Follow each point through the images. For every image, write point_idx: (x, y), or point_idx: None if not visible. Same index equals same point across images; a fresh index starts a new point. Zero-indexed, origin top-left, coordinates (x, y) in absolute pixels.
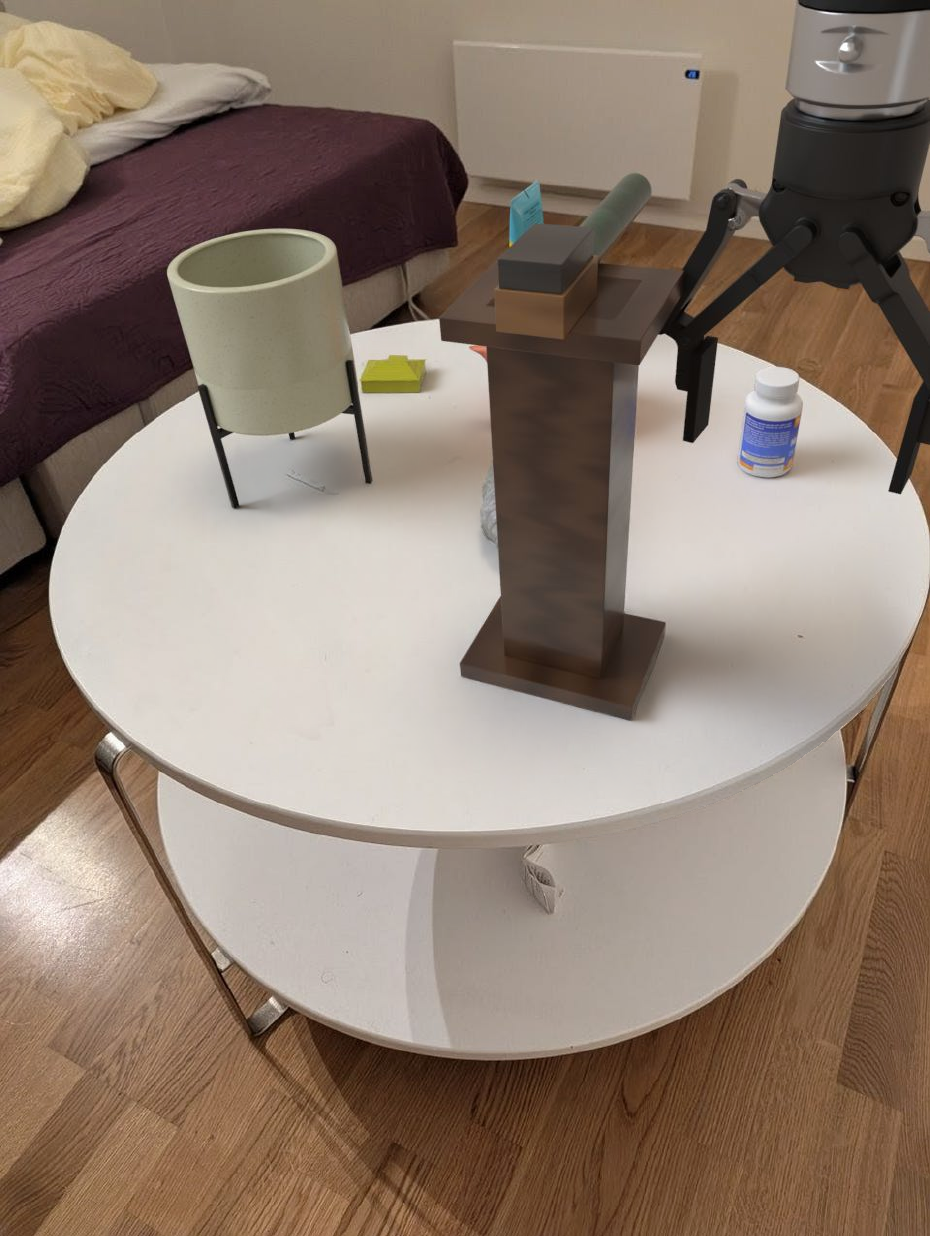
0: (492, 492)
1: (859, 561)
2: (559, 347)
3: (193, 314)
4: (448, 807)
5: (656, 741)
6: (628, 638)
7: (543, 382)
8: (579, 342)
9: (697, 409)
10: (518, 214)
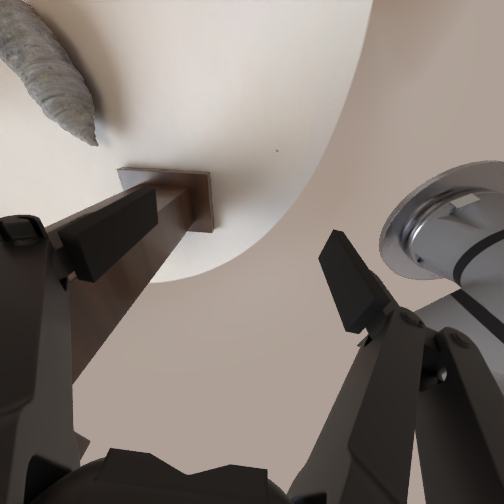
0: (32, 97)
1: (319, 36)
2: None
3: None
4: (175, 274)
5: (226, 235)
6: (194, 192)
7: None
8: None
9: (140, 238)
10: None
